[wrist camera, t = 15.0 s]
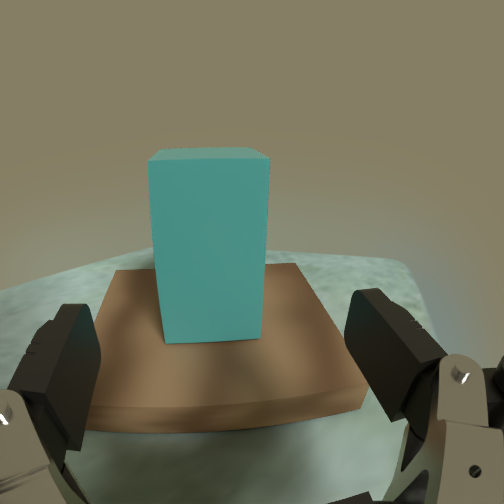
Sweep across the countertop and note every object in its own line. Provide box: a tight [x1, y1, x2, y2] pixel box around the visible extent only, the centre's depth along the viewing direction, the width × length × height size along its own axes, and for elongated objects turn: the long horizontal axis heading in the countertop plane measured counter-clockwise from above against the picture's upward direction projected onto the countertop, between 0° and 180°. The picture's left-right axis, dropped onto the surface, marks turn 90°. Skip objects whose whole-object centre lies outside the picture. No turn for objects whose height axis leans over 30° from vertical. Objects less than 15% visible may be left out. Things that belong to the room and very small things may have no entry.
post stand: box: [85, 263, 369, 433], centre depth 21 cm, size 17×16×12 cm
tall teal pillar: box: [148, 147, 270, 344], centre depth 20 cm, size 6×6×11 cm
